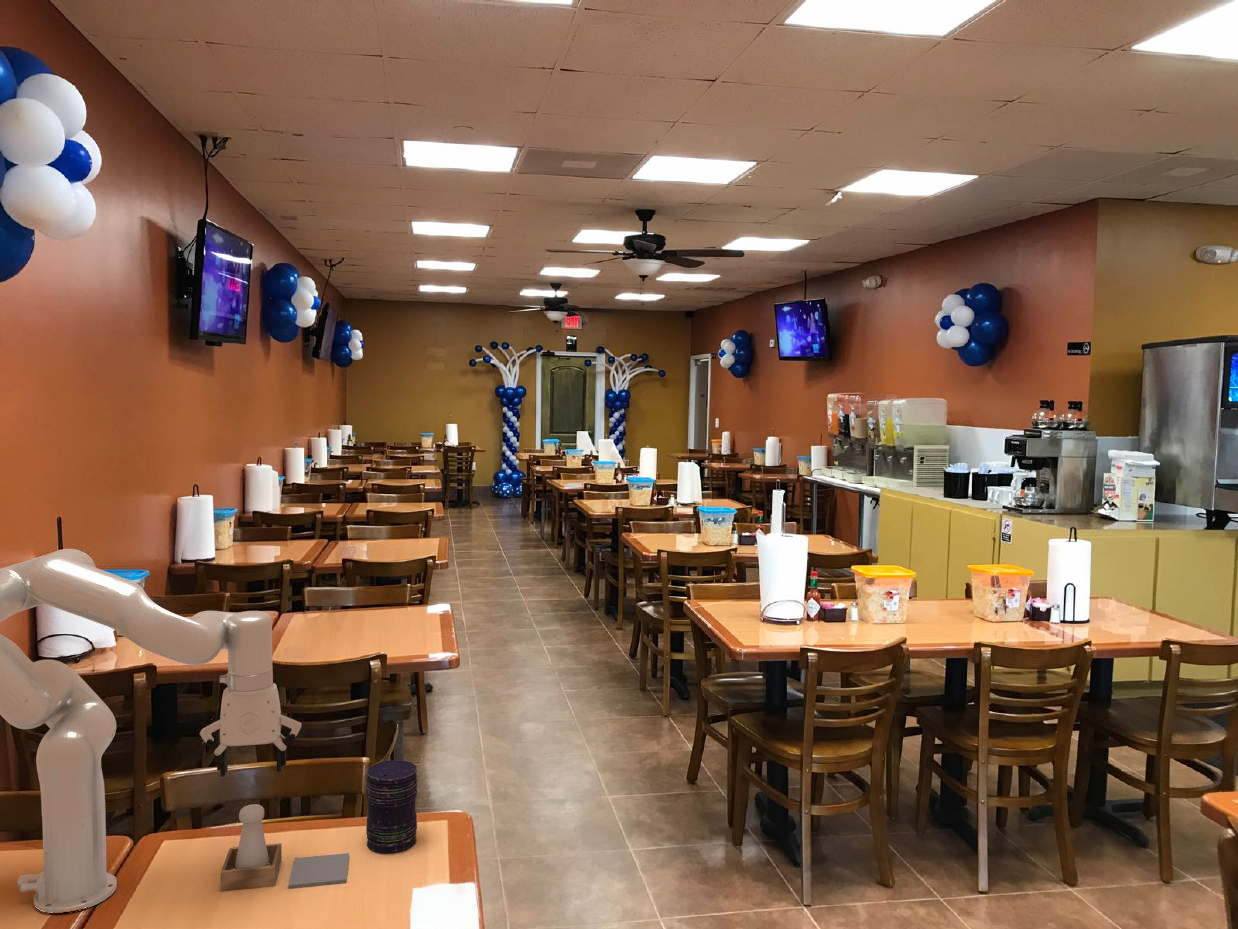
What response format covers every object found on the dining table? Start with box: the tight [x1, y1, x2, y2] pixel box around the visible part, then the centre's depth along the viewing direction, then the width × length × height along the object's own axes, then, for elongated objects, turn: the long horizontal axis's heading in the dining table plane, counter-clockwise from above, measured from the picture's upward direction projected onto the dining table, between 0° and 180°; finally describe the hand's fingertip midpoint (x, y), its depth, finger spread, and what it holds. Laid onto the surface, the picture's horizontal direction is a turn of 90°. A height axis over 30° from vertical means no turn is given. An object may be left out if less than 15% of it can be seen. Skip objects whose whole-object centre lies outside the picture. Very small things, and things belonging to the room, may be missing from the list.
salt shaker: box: [234, 803, 269, 869], centre depth 168 cm, size 6×6×13 cm
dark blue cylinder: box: [365, 759, 418, 855], centre depth 182 cm, size 10×10×15 cm
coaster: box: [287, 852, 350, 889], centre depth 171 cm, size 10×10×1 cm
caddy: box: [219, 842, 283, 892], centre depth 169 cm, size 9×9×4 cm
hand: (252, 771), depth 168 cm, fingers open, 9 cm apart
